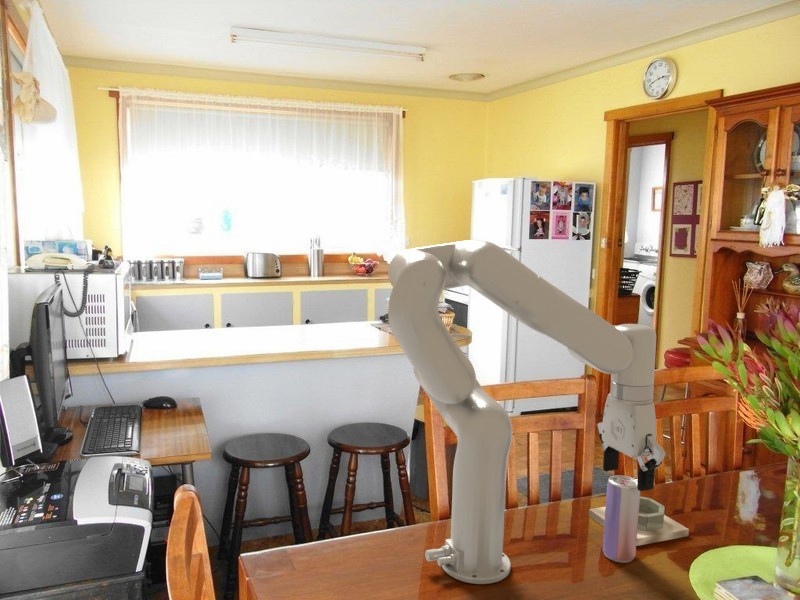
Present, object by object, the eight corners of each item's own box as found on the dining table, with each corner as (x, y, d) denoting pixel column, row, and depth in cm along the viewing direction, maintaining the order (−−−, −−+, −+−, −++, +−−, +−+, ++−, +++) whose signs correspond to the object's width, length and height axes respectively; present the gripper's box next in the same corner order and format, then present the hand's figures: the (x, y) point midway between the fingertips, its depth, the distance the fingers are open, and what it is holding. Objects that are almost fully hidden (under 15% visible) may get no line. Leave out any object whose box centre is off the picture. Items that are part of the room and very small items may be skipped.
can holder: (632, 546, 129) (634, 525, 128) (588, 515, 142) (590, 495, 141) (688, 536, 134) (690, 515, 133) (640, 507, 147) (642, 488, 146)
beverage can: (599, 558, 124) (604, 482, 122) (605, 545, 129) (610, 472, 127) (632, 567, 121) (638, 489, 119) (637, 552, 126) (643, 478, 125)
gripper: (585, 381, 128) (582, 465, 130) (648, 406, 112) (643, 501, 114) (617, 378, 130) (613, 460, 133) (682, 401, 114) (677, 494, 117)
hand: (627, 479), depth 123 cm, fingers open, 9 cm apart
